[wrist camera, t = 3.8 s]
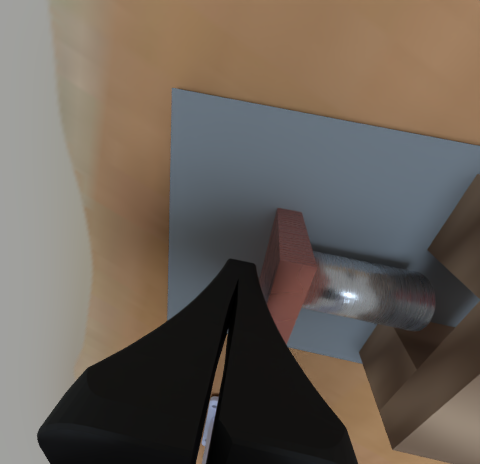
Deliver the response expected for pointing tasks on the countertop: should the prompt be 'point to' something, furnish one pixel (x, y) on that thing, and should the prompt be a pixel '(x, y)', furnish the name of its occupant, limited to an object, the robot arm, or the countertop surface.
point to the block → (435, 359)
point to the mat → (309, 202)
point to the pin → (337, 283)
